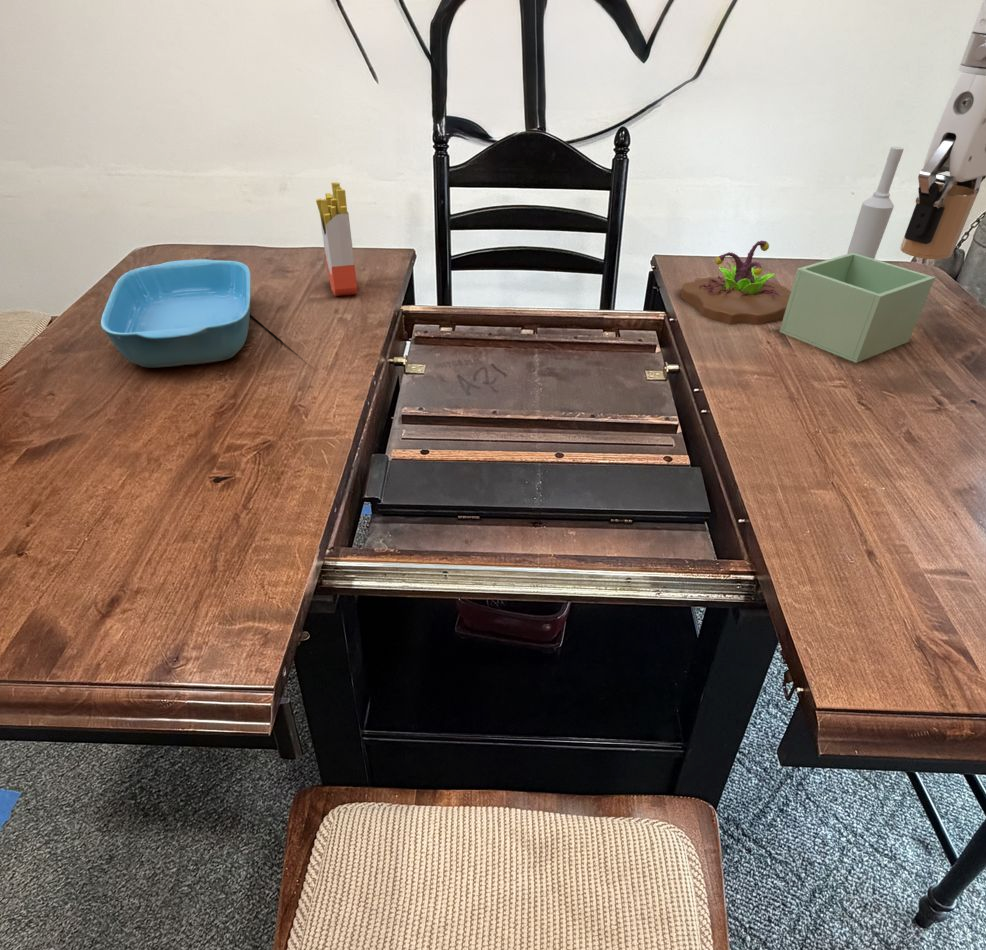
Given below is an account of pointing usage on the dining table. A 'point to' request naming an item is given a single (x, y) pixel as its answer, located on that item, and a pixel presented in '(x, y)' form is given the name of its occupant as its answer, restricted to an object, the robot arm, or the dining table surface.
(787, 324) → the bin
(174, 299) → the casserole dish
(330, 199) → the french fries container
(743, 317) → the plant
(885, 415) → the dining table surface
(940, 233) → the paper cup
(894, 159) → the bottle
